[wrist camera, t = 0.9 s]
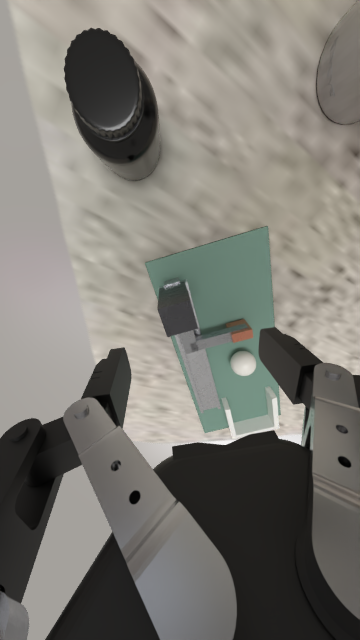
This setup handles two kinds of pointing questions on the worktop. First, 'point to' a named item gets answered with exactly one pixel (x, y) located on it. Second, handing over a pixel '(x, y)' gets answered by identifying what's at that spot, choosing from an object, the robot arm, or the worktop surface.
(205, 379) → the rail
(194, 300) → the field
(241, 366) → the ball
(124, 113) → the supplement bottle
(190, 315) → the block
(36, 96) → the worktop surface
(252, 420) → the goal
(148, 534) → the robot arm
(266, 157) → the worktop surface
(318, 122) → the worktop surface
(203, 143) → the worktop surface
